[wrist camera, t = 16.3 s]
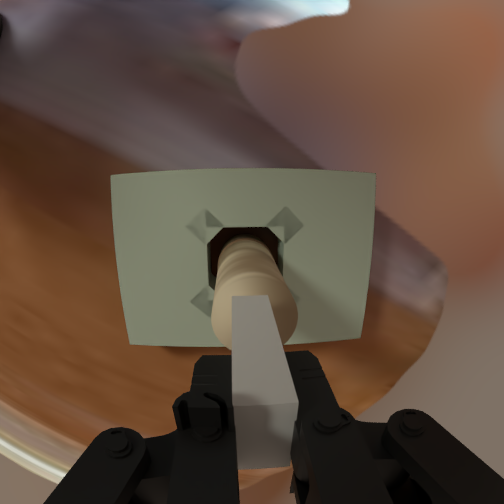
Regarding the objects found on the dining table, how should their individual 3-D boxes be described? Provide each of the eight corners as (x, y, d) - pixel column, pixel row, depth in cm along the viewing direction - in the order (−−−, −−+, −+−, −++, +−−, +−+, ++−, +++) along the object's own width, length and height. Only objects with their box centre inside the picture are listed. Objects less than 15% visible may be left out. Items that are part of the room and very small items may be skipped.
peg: (219, 279, 26) (211, 357, 14) (219, 230, 25) (207, 276, 13) (268, 278, 26) (296, 355, 14) (269, 230, 25) (302, 275, 13)
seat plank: (139, 328, 26) (130, 344, 23) (124, 174, 23) (110, 175, 20) (349, 323, 27) (360, 337, 25) (360, 173, 24) (375, 173, 21)
